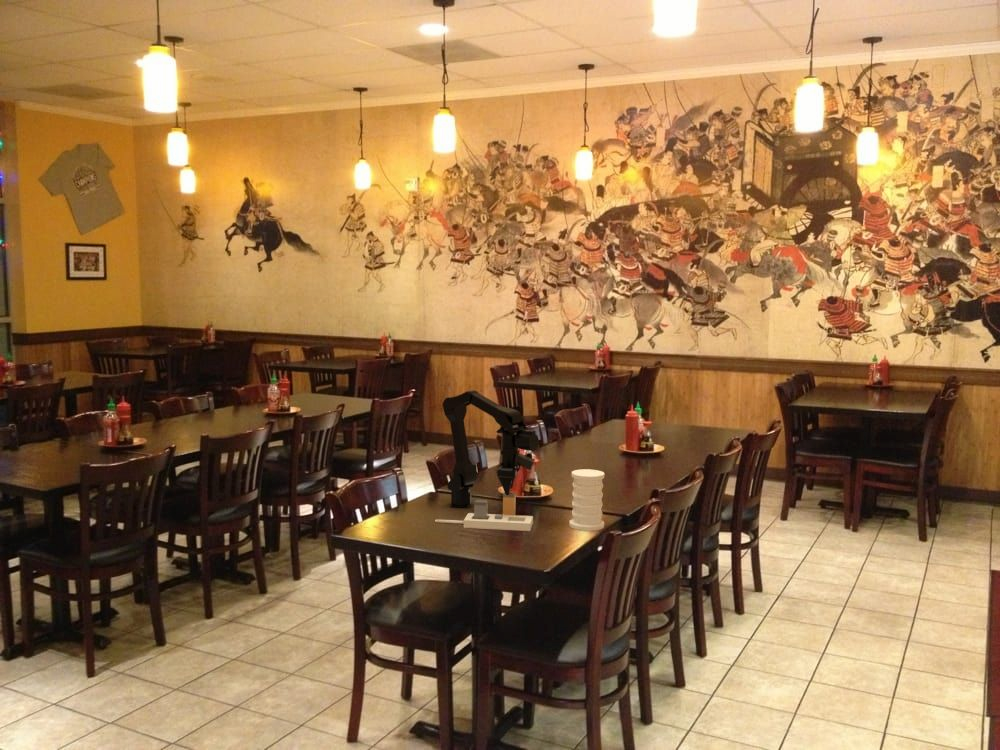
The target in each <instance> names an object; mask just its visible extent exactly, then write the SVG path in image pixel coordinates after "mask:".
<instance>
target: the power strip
mask: <svg viewBox="0 0 1000 750" xmlns="http://www.w3.org/2000/svg"><path fill="white" fill-rule="evenodd" d="M434 521H435V523H437V524H438V523H439V524H440V523H441V524H458V525H459V524H460V525H462V524H463V528H464V529H483V530H485V529H486V530H498V531H499V530H502V531H503V530H504V531H521V532H530V531H531V530H532V527H533V524H534V516H533V515H516V514H515V515H503V514H498V513H497V514H496V513H487V520H486V519H474V512H468V513H467V515H466V516H465V517H464V519H463V520H456V519H453V520H452V519H435V520H434Z"/></svg>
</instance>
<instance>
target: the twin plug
mask: <svg viewBox="0 0 1000 750" xmlns="http://www.w3.org/2000/svg"><path fill="white" fill-rule="evenodd" d="M473 507H474V508H473V513H474V519H486V520H487V514H488V510H489V508H488V500H486V499H485V500H483V499H475V500H474V503H473Z"/></svg>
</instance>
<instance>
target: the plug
mask: <svg viewBox="0 0 1000 750" xmlns="http://www.w3.org/2000/svg"><path fill="white" fill-rule="evenodd" d="M516 495H517V494H516V492H510V493H509V495H506V494H505V492H503V493H502V515H516V500H517V499H516V497H517V496H516Z"/></svg>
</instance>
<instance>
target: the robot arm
mask: <svg viewBox="0 0 1000 750" xmlns="http://www.w3.org/2000/svg"><path fill="white" fill-rule="evenodd" d="M470 405H472V406H473V407H475V408H477V409H479V410H480V411H482V412H484V413H485V414H487V415H489V416H490V417H492V418H493V419H494V421H495V423H497V425H499V426H500V428H499V429H498V430H496V432H495V433H496V434H501V449H500V455H501V457H500V458H501V462H500V465H499V466H500V467H499V468H497V470H496V477H497V478H498V480H499V482H500V485H501V487H502V489H503V491H504V492H505V494H506V495H509V493H511V490H512V489H513V487H514V482H515V479H516V478H517V473H518V472H519V471H520V469H521V467H522V468H525V469H526V470H528V471H531V470H532V468H533V466H534V463H535V458H533V453H530V452H527V453H526V454H523V453H521V452H520V450H522V451H524V450H525V451H531V452H535V451H536V450H537V449H538V448H539V445H540V439H539V437H538V435H537V434H536V430H528V429H529V428H528V427H527V425H526V423H525V421H524V418H522V414H521V412H520V411H519V410H517V409H515V408H512V407H507V406H502V405H500V404H499V403H496V402H495V401H493V400H491V399H489V398H488V397H486V396H484V395H483V394H481V393H480V392H478V391H477V390H475V389H473V390H467V391H465V392H464V393H461V394H459V395H455V396H450V397H446V398H445V399H444V400H443V401H442V408H443V412H444V415H445V417H446V419H447V420H448V422H449V424H450V429H451V432H450V433H451V437H452V438H451V439H452V446H453V451H454V459H455V464H454V465H453V469H452V478H451V479H450V480H449V481H448V482H447V483H446V485H447V486H446V487H447V489H448V491H450V493H451V494H450V495H451V496H450V497H451V501H450V502H451V504H450V505H449V506H450V508H467V509H468V508H469V507H470V505H471V504H472V491H471V488H474V485H475V482H476V481H477V479H478V476H479V473H478V470H477V467H478V466H477V464H476V463H473V462H472V461H471V460H470V455H469V447H468V440H467V434H466V427H465V426H466V425H465V417H466V415H467V407H468V406H470ZM504 492H503V493H504Z"/></svg>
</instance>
